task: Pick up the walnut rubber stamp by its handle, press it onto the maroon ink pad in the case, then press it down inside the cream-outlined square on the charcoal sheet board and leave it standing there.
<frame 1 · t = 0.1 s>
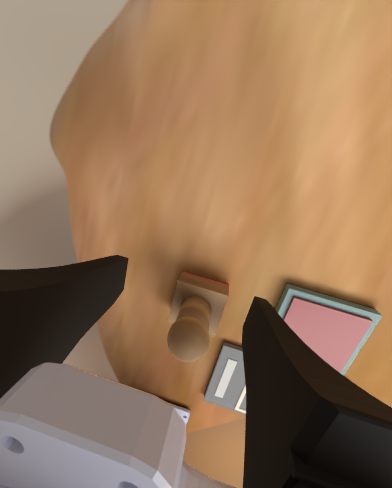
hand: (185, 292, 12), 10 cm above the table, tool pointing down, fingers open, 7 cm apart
sheet board: (271, 389, 26), on the table
ink pad: (312, 330, 22), on the table
stamp: (199, 297, 24), on the table
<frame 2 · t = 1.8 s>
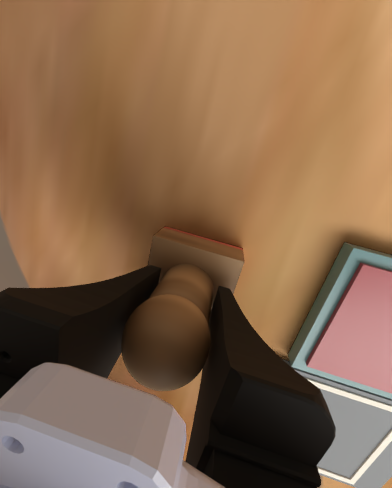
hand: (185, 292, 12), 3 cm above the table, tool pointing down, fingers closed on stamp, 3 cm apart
sheet board: (305, 417, 16), on the table
ink pad: (382, 324, 13), on the table
stamp: (194, 272, 14), on the table, touching gripper
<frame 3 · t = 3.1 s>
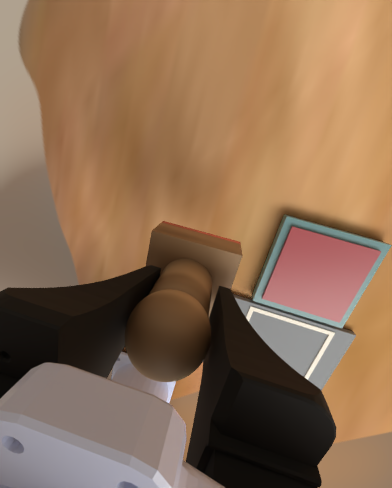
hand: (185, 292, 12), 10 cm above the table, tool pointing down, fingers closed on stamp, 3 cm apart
sheet board: (266, 343, 23), on the table
ink pad: (312, 270, 20), on the table
stamp: (192, 266, 15), point 7 cm above the table, touching gripper
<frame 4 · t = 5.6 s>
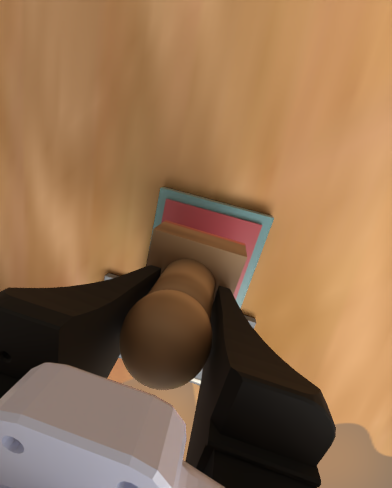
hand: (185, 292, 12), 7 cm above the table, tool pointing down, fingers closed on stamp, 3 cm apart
ink pad: (203, 251, 18), on the table
stamp: (194, 267, 14), point 4 cm above the table, touching gripper
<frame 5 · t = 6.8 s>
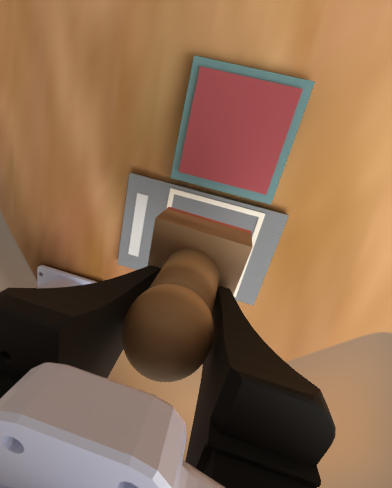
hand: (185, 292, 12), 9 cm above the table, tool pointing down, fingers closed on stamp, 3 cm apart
sheet board: (195, 240, 20), on the table
ink pad: (234, 137, 17), on the table
stamp: (199, 254, 14), point 7 cm above the table, tilted 7°, touching gripper
when the fingers open (3 cm above the table, at t = 8.4 s): stamp stays where it is, resting on sheet board.
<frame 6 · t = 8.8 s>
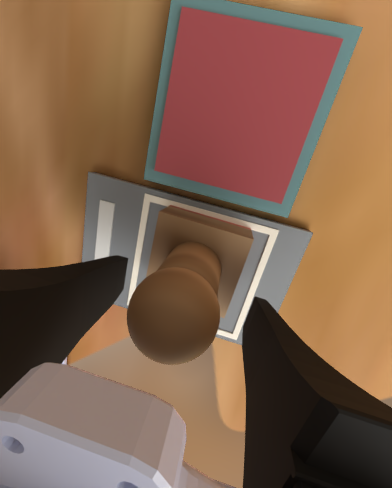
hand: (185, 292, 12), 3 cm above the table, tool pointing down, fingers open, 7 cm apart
sheet board: (181, 263, 15), on the table
ink pad: (235, 119, 12), on the table
stamp: (199, 253, 14), point 1 cm above the table, touching sheet board
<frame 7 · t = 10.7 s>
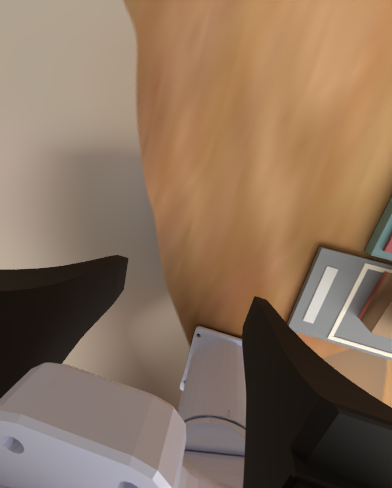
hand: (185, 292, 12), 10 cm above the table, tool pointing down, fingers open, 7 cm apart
sheet board: (375, 308, 21), on the table
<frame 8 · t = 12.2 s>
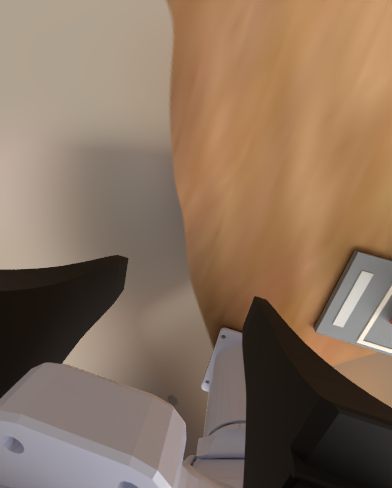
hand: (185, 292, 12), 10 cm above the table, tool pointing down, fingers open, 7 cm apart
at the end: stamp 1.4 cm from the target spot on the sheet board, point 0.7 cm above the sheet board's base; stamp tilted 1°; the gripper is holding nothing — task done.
